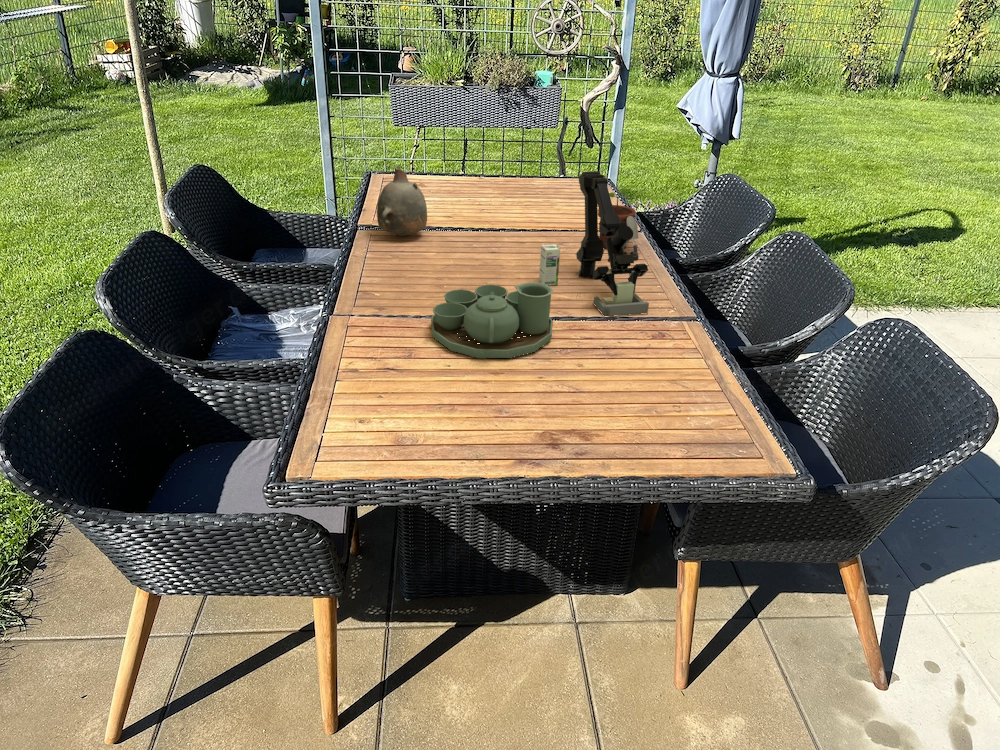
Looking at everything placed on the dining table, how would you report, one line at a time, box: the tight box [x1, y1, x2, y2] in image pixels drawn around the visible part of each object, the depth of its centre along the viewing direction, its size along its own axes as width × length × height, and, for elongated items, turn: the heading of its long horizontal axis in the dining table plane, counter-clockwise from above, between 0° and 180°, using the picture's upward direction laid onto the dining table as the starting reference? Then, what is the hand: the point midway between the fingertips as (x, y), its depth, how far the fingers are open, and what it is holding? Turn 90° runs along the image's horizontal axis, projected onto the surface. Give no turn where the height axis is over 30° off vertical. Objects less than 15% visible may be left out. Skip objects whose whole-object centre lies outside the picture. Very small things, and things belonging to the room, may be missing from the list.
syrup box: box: [538, 243, 561, 286], centre depth 261 cm, size 6×6×14 cm
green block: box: [612, 281, 634, 304], centre depth 243 cm, size 3×6×10 cm, turn 105°
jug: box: [376, 165, 428, 237], centre depth 297 cm, size 24×21×30 cm
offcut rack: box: [592, 292, 650, 317], centre depth 245 cm, size 11×16×4 cm
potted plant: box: [598, 188, 640, 253], centre depth 294 cm, size 18×22×25 cm
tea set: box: [430, 281, 554, 359], centre depth 224 cm, size 40×40×16 cm
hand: (625, 294), depth 241 cm, fingers closed on green block, 6 cm apart
